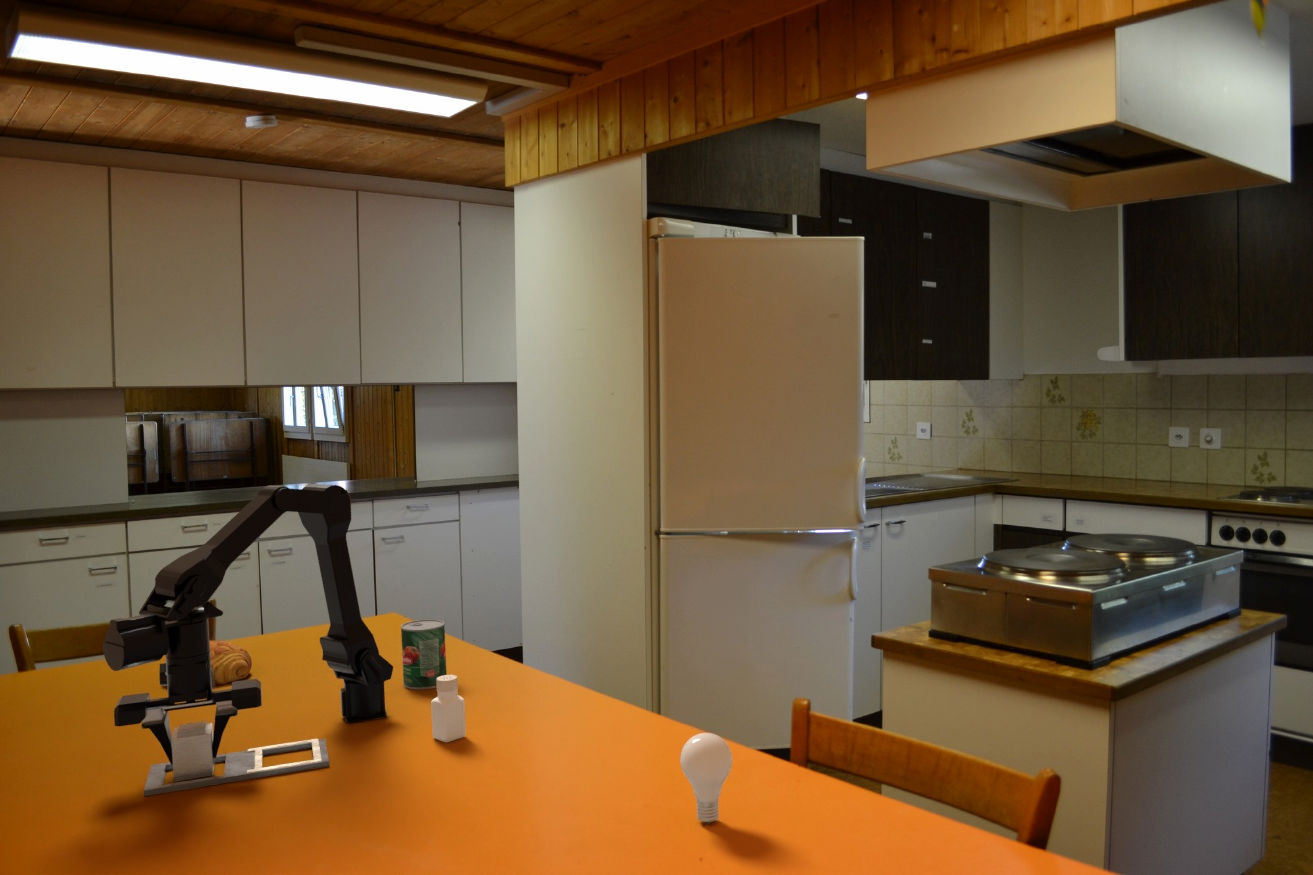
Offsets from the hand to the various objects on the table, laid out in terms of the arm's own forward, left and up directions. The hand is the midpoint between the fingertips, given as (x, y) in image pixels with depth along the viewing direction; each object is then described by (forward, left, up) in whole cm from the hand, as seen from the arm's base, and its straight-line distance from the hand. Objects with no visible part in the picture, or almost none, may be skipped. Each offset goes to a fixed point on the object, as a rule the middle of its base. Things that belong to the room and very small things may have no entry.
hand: (194, 760), depth 141 cm
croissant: (+1, -53, -3) cm, 53 cm away
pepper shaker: (-36, +1, -2) cm, 36 cm away
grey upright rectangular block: (0, 0, -2) cm, 2 cm away
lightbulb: (-60, +45, -2) cm, 75 cm away
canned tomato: (-37, -30, -2) cm, 48 cm away
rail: (-6, 0, -2) cm, 6 cm away
